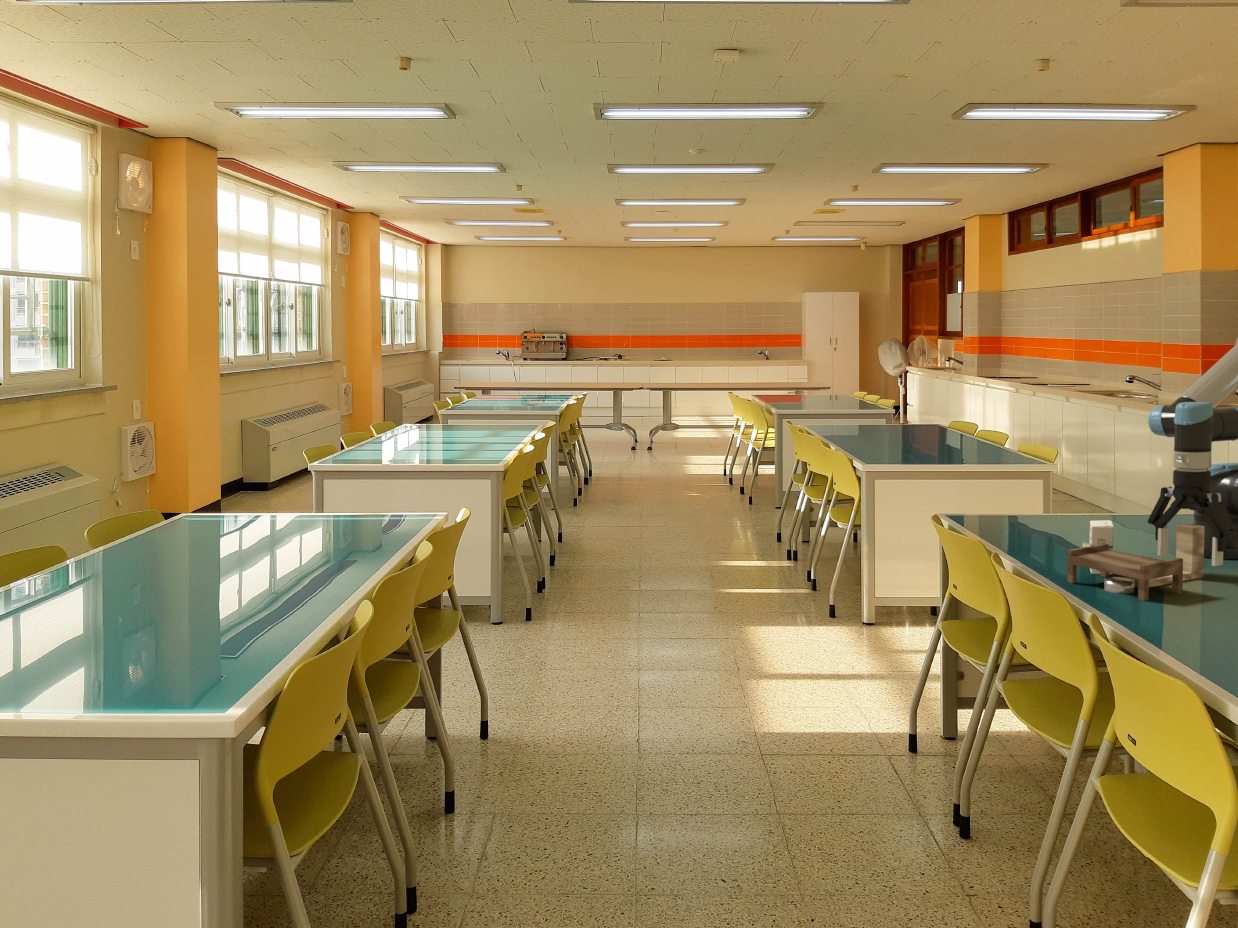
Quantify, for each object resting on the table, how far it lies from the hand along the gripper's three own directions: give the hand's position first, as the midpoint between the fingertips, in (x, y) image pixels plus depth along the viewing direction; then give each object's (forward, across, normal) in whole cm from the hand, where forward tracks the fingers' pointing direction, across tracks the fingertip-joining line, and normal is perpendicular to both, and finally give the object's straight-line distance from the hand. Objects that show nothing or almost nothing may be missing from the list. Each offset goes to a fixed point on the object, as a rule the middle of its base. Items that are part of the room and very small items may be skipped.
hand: (1189, 560), depth 230 cm
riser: (+4, -1, -20) cm, 21 cm away
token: (+4, 0, -23) cm, 23 cm away
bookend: (+4, 0, -8) cm, 9 cm away
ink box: (+4, -15, -11) cm, 19 cm away
